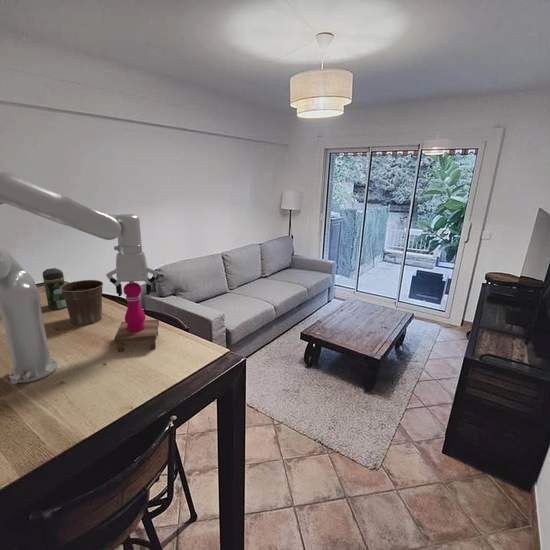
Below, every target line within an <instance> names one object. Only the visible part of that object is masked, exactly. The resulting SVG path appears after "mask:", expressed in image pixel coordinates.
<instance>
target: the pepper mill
mask: <svg viewBox="0 0 550 550" xmlns="http://www.w3.org/2000/svg"><path fill="white" fill-rule="evenodd" d="M141 292H142V287H141V285H140V284H139V283H138V282H135V281H131V282H127V284H125V285H124V286H123V294H124V295H125V300H126V301H127V310H126V311H125V314H124V322H126V323H127V324H128V325H127V330H128V331H129V332H139V331H142V330H143V329H144V328H145V323H144V321H145V320H146V314H145V311H144V310H143V308H142V307H141V303H140V300H141V297H142V296H141Z"/></svg>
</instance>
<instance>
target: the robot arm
mask: <svg viewBox="0 0 550 550" xmlns="http://www.w3.org/2000/svg"><path fill="white" fill-rule="evenodd" d="M4 204H6V205H8V206H10V207H14V208H17V209H19V210H23V211H26V212H28V213H31V214H33V215H35V216H36V215H37V216H39V217H41V218H43V219H47V220H50V221H53V222H55V223H57V224H60V225H64V226H67V227H69V228H73V229H75V230H77V231H80V232H83V233H85V234H88V235H91V236H94V237H97V238H99V239H103V240H105V241H106V240H107V241H111V240H115V239H117V245H116V246H113V249H114V251H117V252H118V253H116V258H115V269H113V270H111V271H109V272H107V273H106V274H105V276H106V277H107V279H108V280H109V282H110V283H112V284H113V285H114V286H115V290H116V294H118V295H117V296H118V297H121V296H122V294H123V288H122V283H126V282H127V283H129V282H131V281H134V282H145V283H146V285H145V288H146V295H147V296H149V295H150V293H152V283H153V282H154V281H155V280H156V278H157V276H158V273H159V272H158V271H157V270H154V269H152V268H149V267H148V265H147V259H146V256H145V252H143V246H142V234H141V220H140V217H139V216H138V215H137V214H133V213H122V214H107V213H103V212H100V211H97V210H96V209H93V208H91V207H88V206H86V205H84V204H83V203H82V204H81V203H80V202H77V201H76V200H74V199H72V198H71V197H68V196H67V195H64V194H62V193H59V192H57V191H54V190H52V189H49V188H48V187H46V186H43V185H40V184H38V183H35V182H33V181H31V180H29V179H26V178H24V177H22V176H19V175H17V174H14V173H11V172H7V171H6V172H5V171H2V172H0V206H1V205H4ZM149 273H150V274H151V275H152V277H150V278H149V276H148V275H149ZM113 275H116V278H115V277H114V276H113ZM121 282H122V283H121ZM40 297H41V296H40V293H39V290H38V286H37V284H36V282H35V280H34V278H33V276H31V274H30V273H29V272H28V271H27V270H26V269H25V268H24V267H23V265H21V264H20V263H19V261H17V260H16V259H15V257H14V256H12V255H11V254H10V252H9V251H7V250H6V249H5V248H4V247H1V246H0V315H1V318H2V321H3V327H4V331H5V335H6V339H7V344H8V349H9V352H10V353H9V354H10V357H11V361H12V362H11V363H12V366H13V368H12V369H11V371H9V374H8V378H9V381H10V384H12V385H16V384H17V383H19V384H20V383H21V384H22V383H24V384H25V383H30V382H36V381H39V380H41V379H43V378H46V377H47V376H50V375H51V374H53V373H54V372H55V371H56V370H57V368H58V363H57V360H55V359H54V358H51V355H50V349H49V344H48V338H47V333H46V329H45V328H46V327H45V323H44V318H43V312H42V305H41V299H40Z"/></svg>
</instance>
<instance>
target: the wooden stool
mask: <svg viewBox="0 0 550 550" xmlns="http://www.w3.org/2000/svg"><path fill="white" fill-rule="evenodd" d="M159 321H160V320H159V319H151V320H150V319H148V320H146V319H145V320H144V323H145V328H144V329H143V330H142V331H139V332H129V331H128V330H127V325H128V324H127V323H126V322H125V321H121V323H120V325H119V327H118V330H117V332H116V333H115V336H114V339H113V341H114V344H116V350H117V353H125V344H126V343H137V342H148V344H149V345H148V346H149V350H150V351H151V350H152V351H153V350H156V349H155V348H157V345H156V343H157V342H156V340H157V337H158V336H159V326H160V322H159ZM157 335H158V336H157Z"/></svg>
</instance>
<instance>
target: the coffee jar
mask: <svg viewBox="0 0 550 550" xmlns="http://www.w3.org/2000/svg"><path fill="white" fill-rule="evenodd" d="M42 279H43V286H44V290H45V296H46V302H47V306H48V307H49V309H50V310H62V309H64V308H67V305H66V302H65V298H64V297H63V294H62V291H61V290H60V287H61V286H62V285H64V284H66V283H65V276H64V272H63V271H62V270H61V269H58V268H55V267H54V268H47V269H45V270H44V271H42Z"/></svg>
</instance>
